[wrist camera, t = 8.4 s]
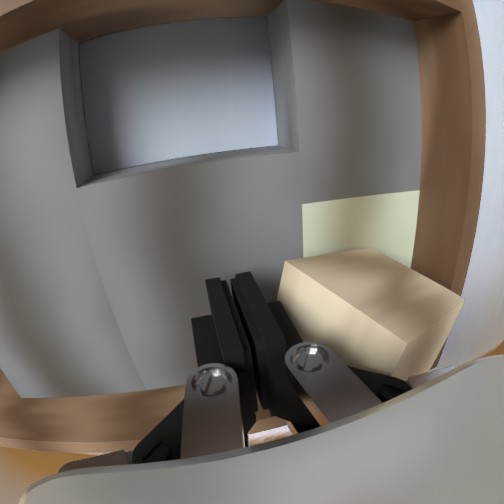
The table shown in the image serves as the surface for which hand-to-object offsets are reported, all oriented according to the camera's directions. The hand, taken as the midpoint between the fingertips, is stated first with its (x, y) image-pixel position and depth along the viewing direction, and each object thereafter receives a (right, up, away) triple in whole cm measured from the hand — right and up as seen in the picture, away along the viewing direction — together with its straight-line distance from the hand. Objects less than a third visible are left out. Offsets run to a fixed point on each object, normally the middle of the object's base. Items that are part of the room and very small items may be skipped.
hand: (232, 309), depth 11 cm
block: (+3, 0, +1) cm, 4 cm away
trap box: (-6, +4, +1) cm, 7 cm away
